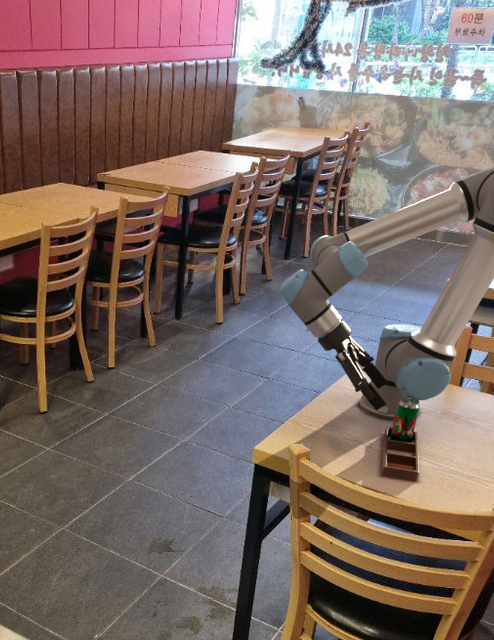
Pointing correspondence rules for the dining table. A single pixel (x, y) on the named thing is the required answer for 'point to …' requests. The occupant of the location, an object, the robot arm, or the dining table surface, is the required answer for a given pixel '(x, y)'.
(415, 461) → the caddy
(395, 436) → the soda can
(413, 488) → the dining table surface
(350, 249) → the robot arm
